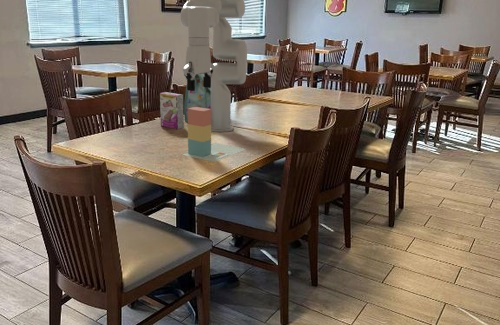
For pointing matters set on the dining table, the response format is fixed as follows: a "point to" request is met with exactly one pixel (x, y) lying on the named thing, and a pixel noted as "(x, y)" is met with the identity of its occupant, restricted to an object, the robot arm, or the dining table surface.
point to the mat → (218, 148)
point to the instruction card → (218, 155)
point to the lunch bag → (197, 96)
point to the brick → (199, 116)
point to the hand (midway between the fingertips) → (199, 88)
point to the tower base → (199, 148)
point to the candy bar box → (171, 110)
